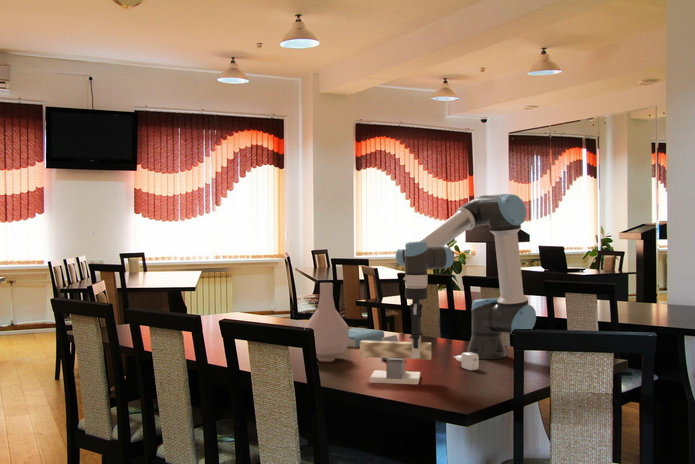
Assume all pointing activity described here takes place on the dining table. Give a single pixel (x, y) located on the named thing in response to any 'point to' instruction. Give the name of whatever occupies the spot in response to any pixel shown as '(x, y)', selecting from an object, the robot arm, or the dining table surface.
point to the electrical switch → (389, 338)
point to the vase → (328, 326)
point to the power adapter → (468, 360)
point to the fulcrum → (395, 373)
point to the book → (363, 336)
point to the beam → (393, 349)
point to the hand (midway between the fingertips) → (416, 356)
